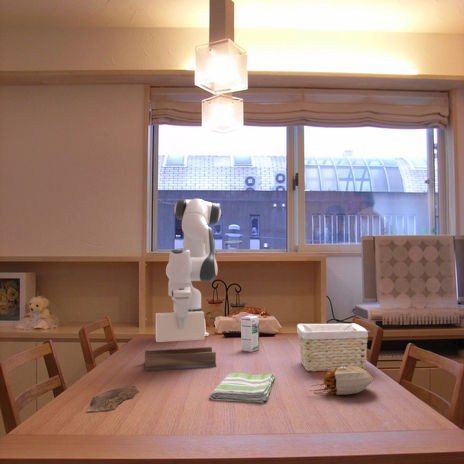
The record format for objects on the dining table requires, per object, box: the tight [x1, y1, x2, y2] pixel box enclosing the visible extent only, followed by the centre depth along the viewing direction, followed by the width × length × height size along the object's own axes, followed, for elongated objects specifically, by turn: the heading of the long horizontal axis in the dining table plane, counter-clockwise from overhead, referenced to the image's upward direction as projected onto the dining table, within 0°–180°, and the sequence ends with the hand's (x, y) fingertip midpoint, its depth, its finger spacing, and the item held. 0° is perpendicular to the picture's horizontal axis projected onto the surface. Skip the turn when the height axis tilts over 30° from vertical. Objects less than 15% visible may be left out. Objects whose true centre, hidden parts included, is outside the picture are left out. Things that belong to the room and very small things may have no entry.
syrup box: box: [240, 315, 260, 353], centre depth 187 cm, size 6×6×14 cm
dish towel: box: [209, 372, 276, 404], centre depth 135 cm, size 17×23×4 cm
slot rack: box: [144, 346, 217, 372], centre depth 164 cm, size 12×26×5 cm, turn 102°
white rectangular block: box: [155, 310, 206, 343], centre depth 164 cm, size 5×18×10 cm, turn 104°
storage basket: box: [296, 322, 369, 372], centre depth 161 cm, size 24×16×15 cm
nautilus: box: [306, 365, 374, 396], centre depth 132 cm, size 8×22×15 cm
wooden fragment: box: [86, 383, 140, 414], centre depth 128 cm, size 26×11×1 cm, turn 163°
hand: (180, 327), depth 164 cm, fingers closed on white rectangular block, 5 cm apart
